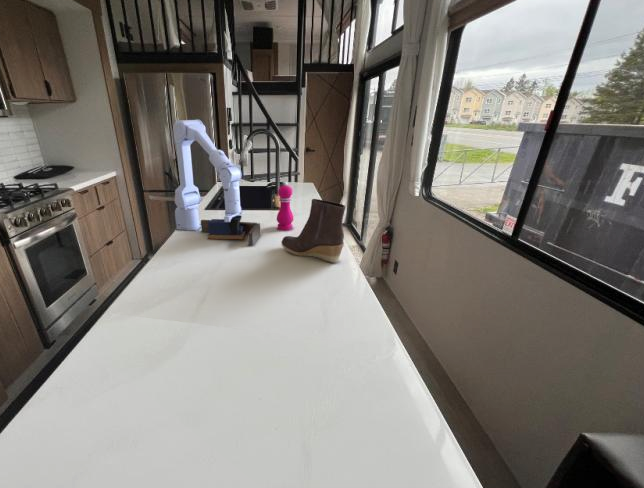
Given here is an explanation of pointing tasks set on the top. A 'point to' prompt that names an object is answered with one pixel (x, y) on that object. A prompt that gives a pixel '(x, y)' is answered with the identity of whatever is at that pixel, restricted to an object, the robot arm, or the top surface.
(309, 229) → the boot
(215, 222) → the trainer
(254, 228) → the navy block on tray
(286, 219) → the pepper mill
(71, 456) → the top surface
